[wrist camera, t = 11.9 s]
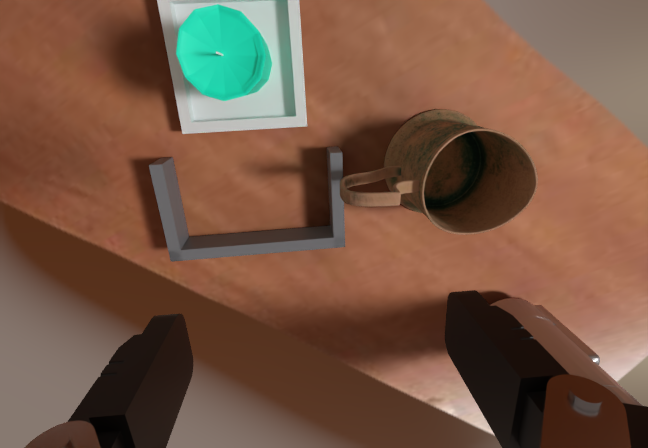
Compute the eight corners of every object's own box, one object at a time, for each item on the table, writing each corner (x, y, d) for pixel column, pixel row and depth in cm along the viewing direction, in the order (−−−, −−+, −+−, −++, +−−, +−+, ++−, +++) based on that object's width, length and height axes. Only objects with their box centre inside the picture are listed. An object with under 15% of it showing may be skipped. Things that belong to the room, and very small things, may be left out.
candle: (273, 96, 35) (266, 103, 24) (210, 95, 35) (174, 101, 24) (271, 27, 33) (262, 0, 22) (204, 25, 33) (161, -4, 22)
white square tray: (297, -12, 33) (297, -18, 31) (306, 124, 37) (307, 126, 35) (162, -8, 32) (154, -13, 30) (187, 131, 37) (182, 133, 35)
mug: (328, 112, 37) (345, 125, 26) (492, 107, 39) (575, 118, 27) (330, 217, 41) (345, 267, 30) (477, 209, 43) (544, 254, 32)
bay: (337, 146, 38) (342, 152, 35) (340, 234, 42) (345, 246, 39) (160, 157, 37) (148, 165, 34) (180, 247, 41) (171, 261, 38)
